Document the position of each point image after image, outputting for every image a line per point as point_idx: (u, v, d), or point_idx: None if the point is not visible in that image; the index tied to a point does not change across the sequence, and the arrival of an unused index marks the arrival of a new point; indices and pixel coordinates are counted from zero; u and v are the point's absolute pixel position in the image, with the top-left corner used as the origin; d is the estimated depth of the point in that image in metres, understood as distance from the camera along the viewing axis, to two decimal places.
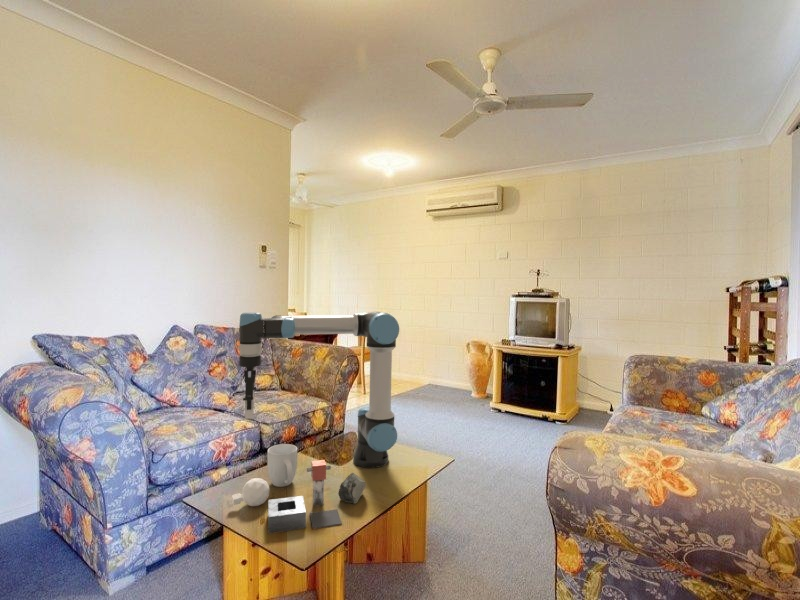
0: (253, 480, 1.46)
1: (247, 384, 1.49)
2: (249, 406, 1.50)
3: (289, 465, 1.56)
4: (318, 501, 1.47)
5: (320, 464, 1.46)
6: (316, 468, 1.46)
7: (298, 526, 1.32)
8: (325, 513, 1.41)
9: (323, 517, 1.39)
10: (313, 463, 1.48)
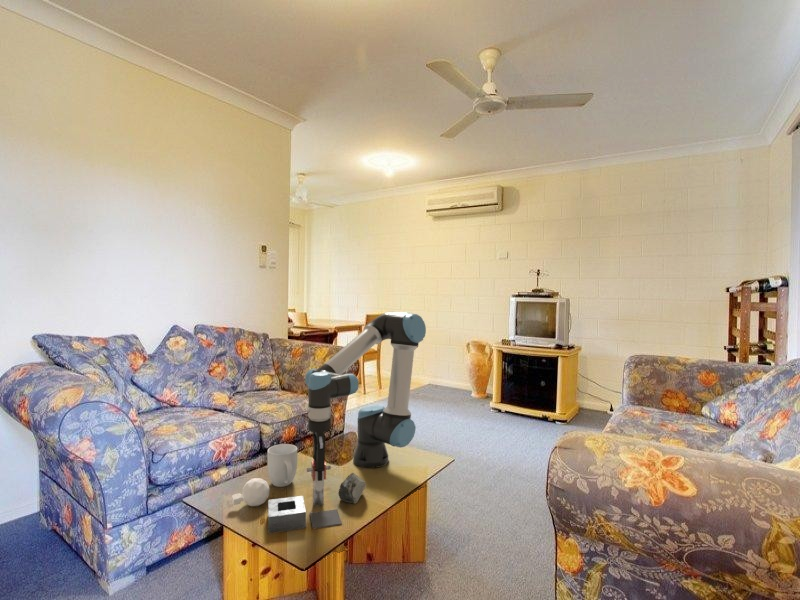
0: (253, 480, 1.46)
1: (319, 456, 1.42)
2: (320, 477, 1.44)
3: (289, 465, 1.56)
4: (318, 501, 1.47)
5: None
6: None
7: (298, 526, 1.32)
8: (325, 513, 1.41)
9: (323, 517, 1.39)
10: (313, 463, 1.48)
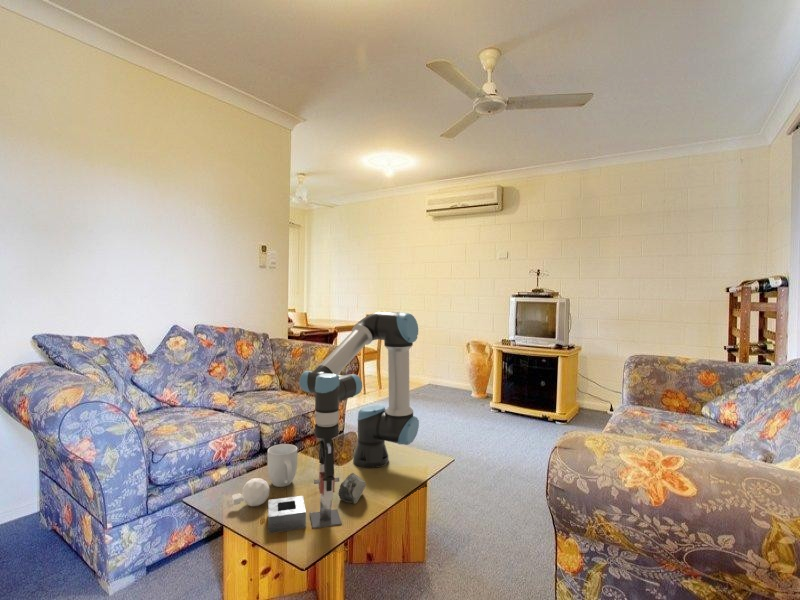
0: (253, 480, 1.46)
1: (327, 462, 1.30)
2: (329, 487, 1.31)
3: (289, 465, 1.56)
4: (325, 515, 1.36)
5: None
6: None
7: (298, 526, 1.32)
8: None
9: None
10: (321, 474, 1.38)
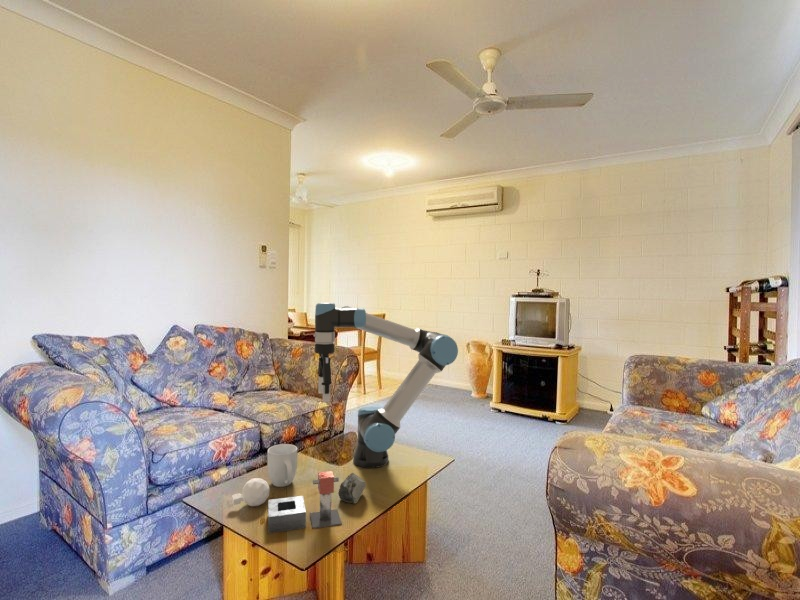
0: (253, 480, 1.46)
1: (325, 369, 1.59)
2: (327, 390, 1.59)
3: (289, 465, 1.56)
4: (325, 515, 1.36)
5: (328, 477, 1.36)
6: (323, 480, 1.35)
7: (298, 526, 1.32)
8: None
9: None
10: (320, 475, 1.37)
